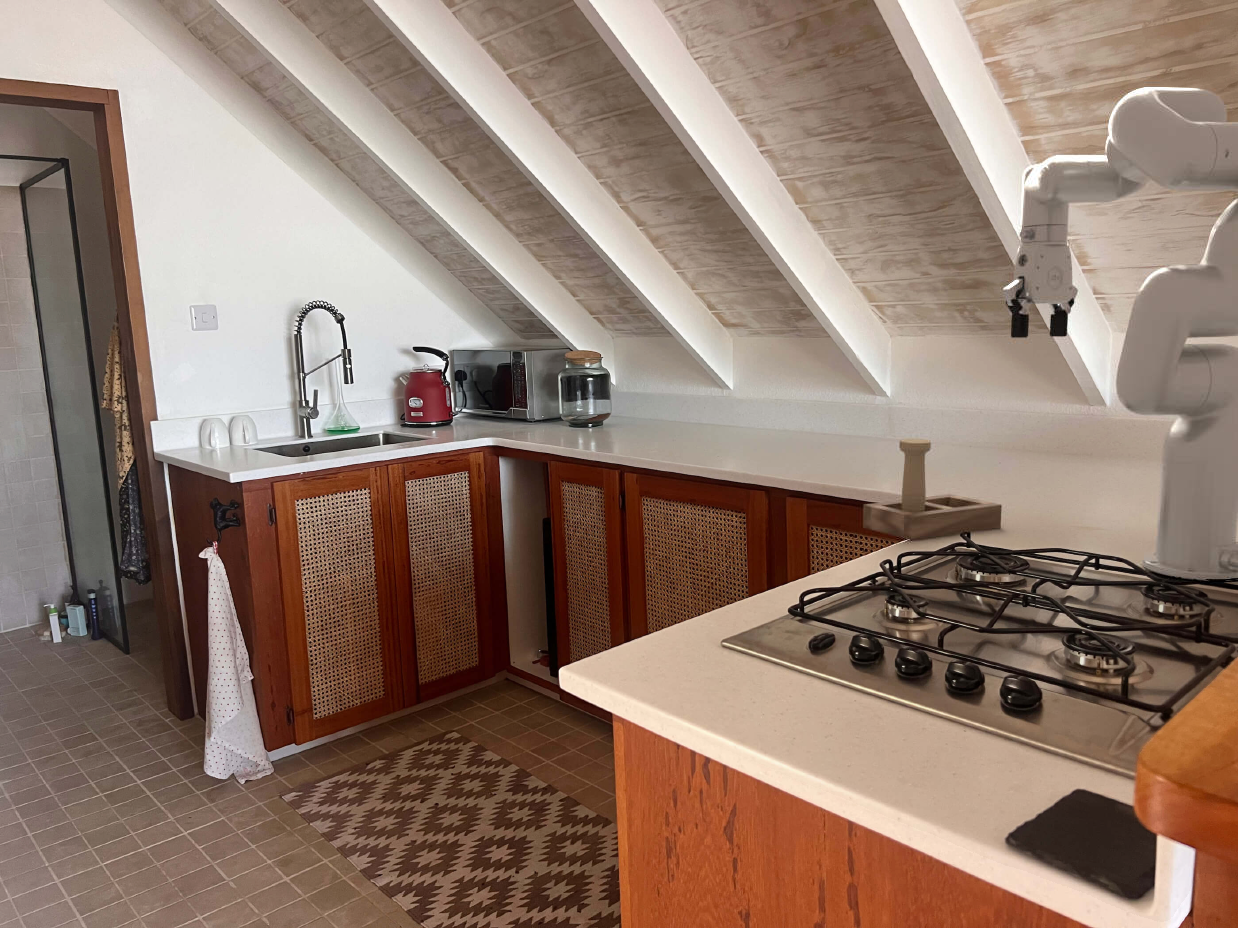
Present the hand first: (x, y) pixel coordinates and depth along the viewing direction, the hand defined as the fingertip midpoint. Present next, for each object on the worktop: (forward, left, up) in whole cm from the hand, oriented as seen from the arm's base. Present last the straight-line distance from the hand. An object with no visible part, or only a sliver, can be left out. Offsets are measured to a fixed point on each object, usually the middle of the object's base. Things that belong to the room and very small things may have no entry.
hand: (1039, 337), depth 169 cm
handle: (+2, +26, -32) cm, 42 cm away
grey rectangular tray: (+2, +22, -32) cm, 39 cm away
